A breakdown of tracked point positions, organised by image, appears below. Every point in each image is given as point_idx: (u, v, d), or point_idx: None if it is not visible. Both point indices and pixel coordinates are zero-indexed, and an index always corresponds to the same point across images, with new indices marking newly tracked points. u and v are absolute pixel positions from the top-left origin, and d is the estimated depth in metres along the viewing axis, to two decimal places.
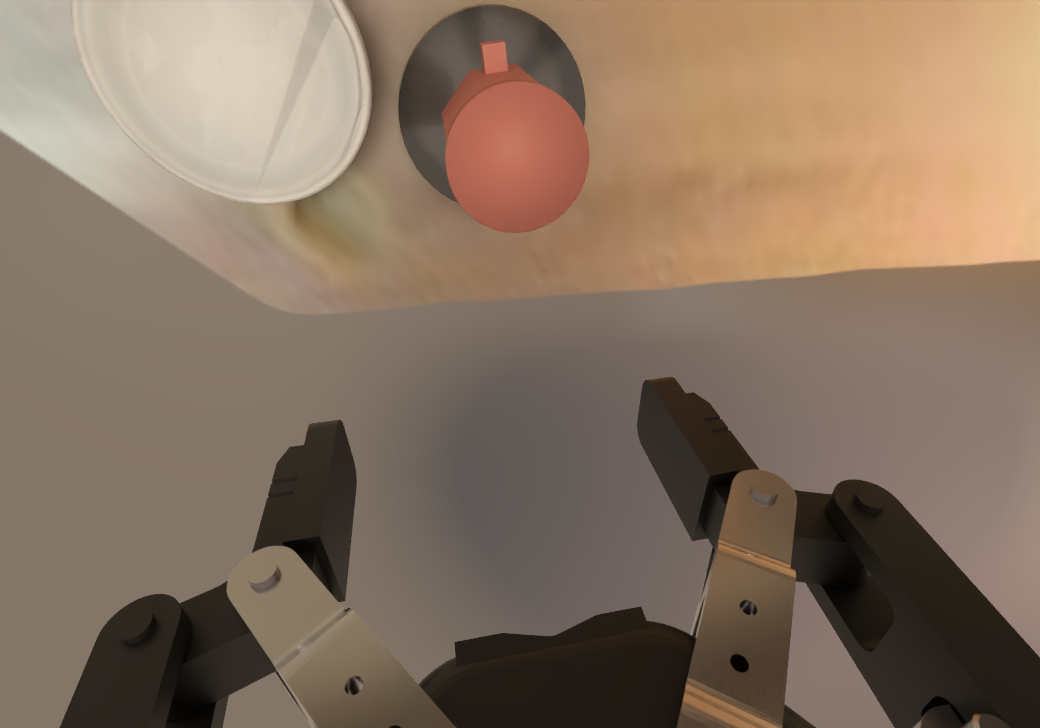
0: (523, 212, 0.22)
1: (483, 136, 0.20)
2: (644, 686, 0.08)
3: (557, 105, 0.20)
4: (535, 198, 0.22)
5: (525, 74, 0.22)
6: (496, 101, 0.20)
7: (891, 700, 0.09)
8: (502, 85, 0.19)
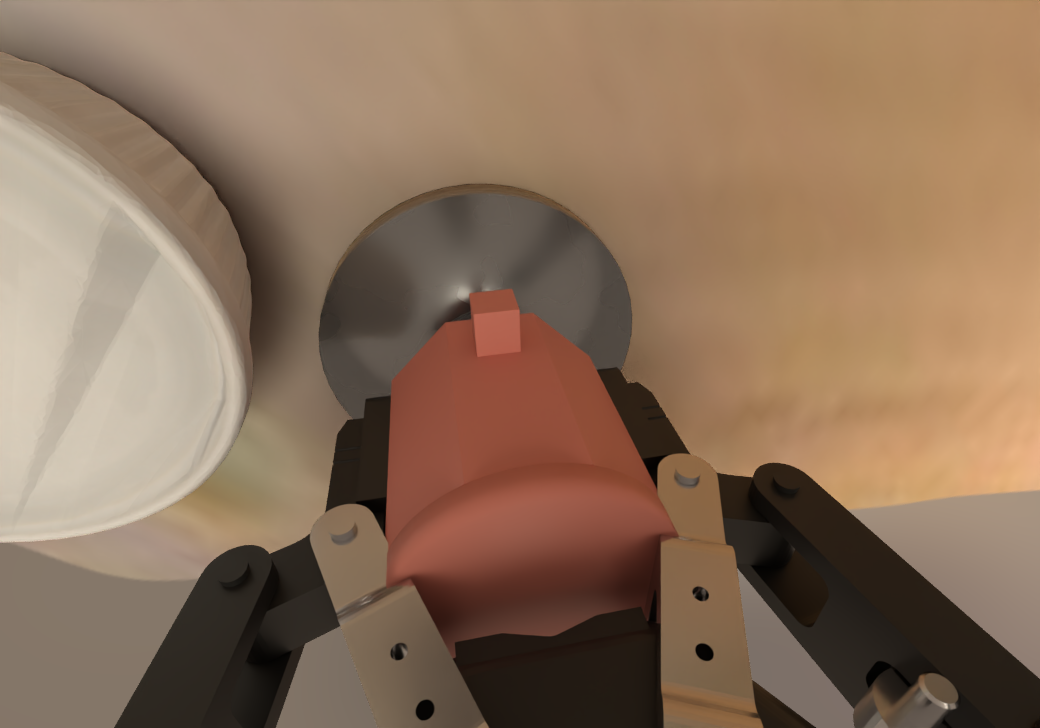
0: None
1: (466, 578, 0.09)
2: (644, 686, 0.08)
3: (639, 524, 0.09)
4: None
5: (559, 393, 0.11)
6: (503, 530, 0.08)
7: (836, 670, 0.10)
8: (520, 504, 0.08)
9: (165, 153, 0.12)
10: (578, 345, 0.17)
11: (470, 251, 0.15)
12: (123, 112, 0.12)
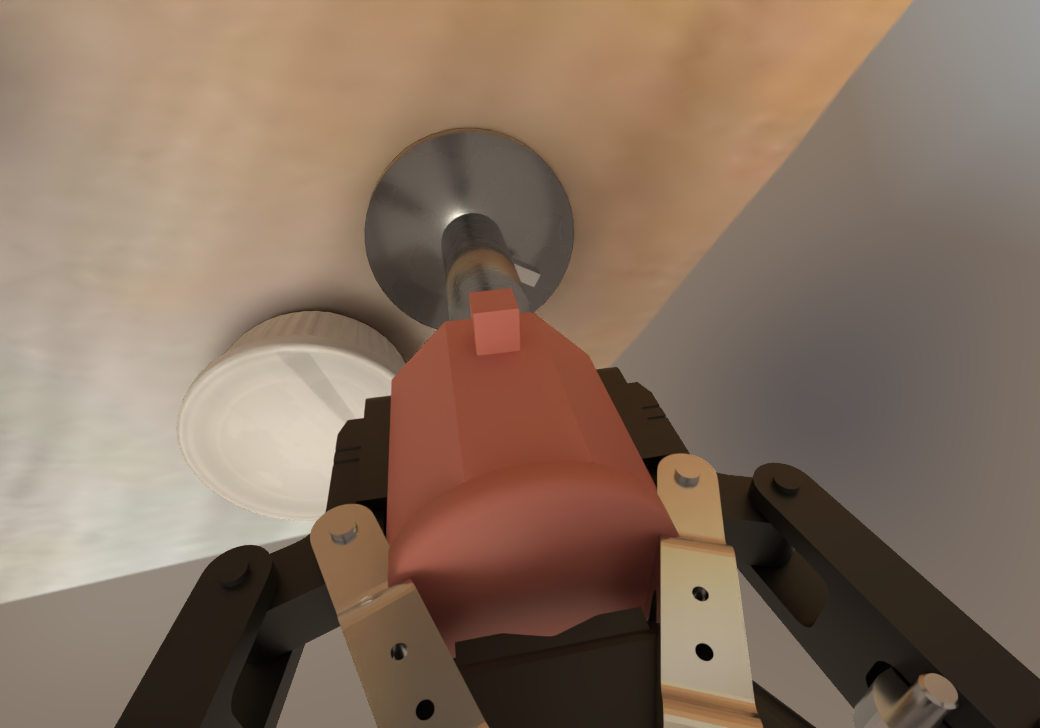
0: None
1: (467, 576, 0.09)
2: (644, 686, 0.08)
3: (639, 520, 0.09)
4: None
5: (559, 392, 0.11)
6: (503, 527, 0.08)
7: (836, 670, 0.10)
8: (520, 501, 0.08)
9: (288, 319, 0.25)
10: (506, 185, 0.24)
11: (403, 218, 0.24)
12: (269, 320, 0.26)
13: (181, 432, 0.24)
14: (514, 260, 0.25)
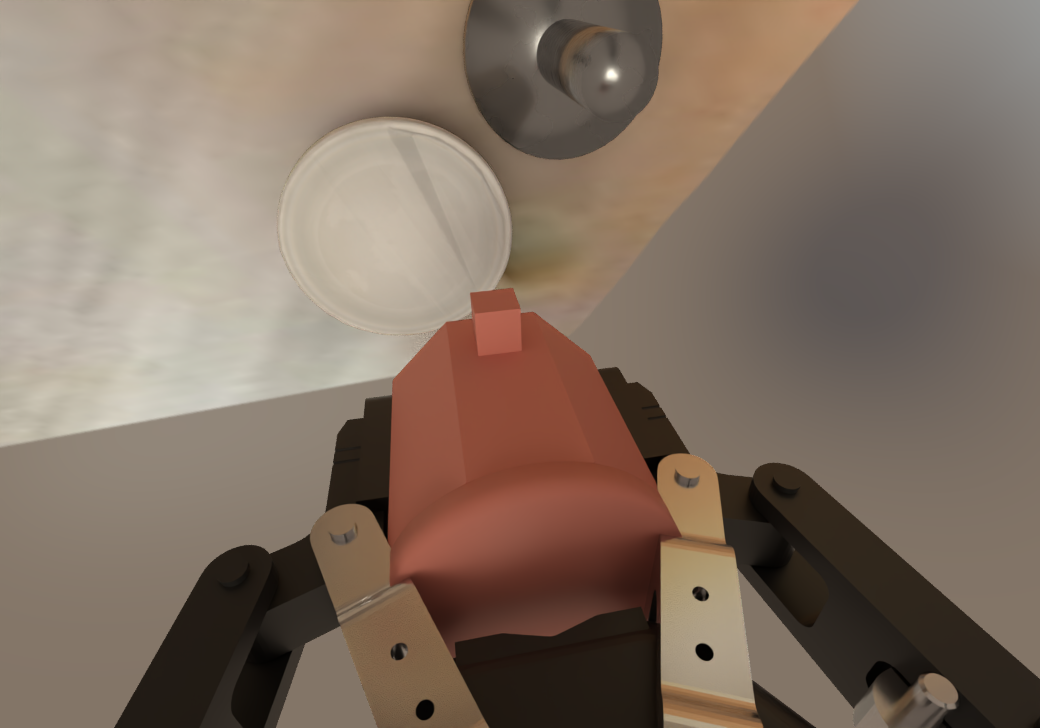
0: None
1: (469, 577, 0.09)
2: (644, 686, 0.08)
3: (641, 521, 0.09)
4: None
5: (561, 392, 0.11)
6: (506, 528, 0.08)
7: (836, 670, 0.10)
8: (523, 502, 0.08)
9: None
10: None
11: (505, 16, 0.25)
12: None
13: (282, 213, 0.24)
14: None
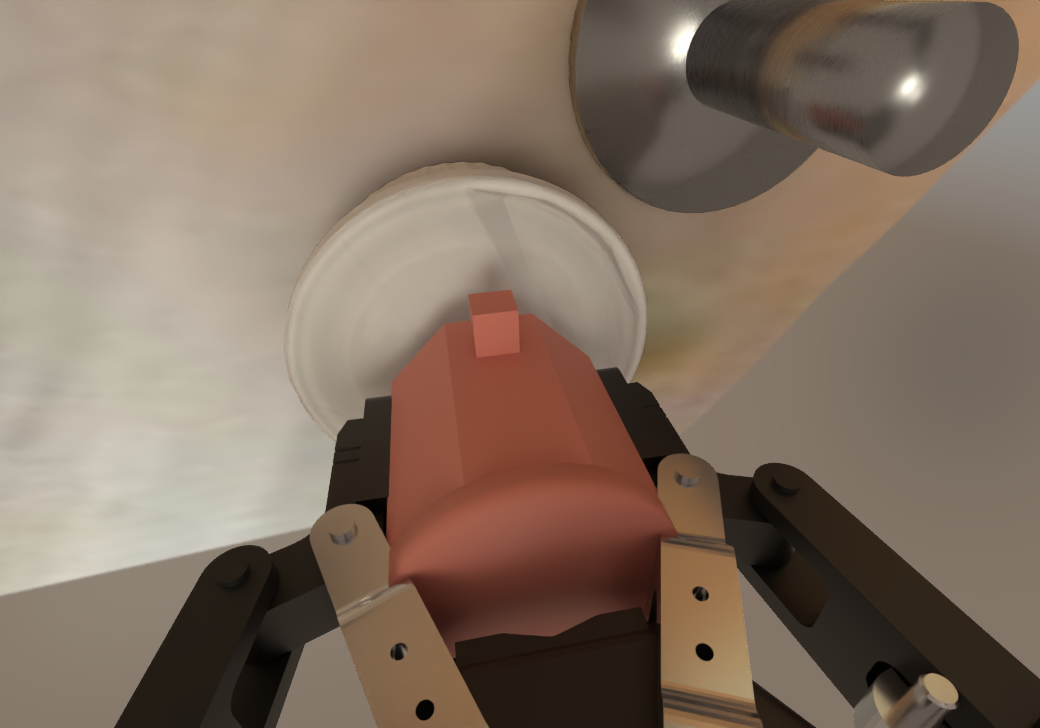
0: None
1: (467, 579, 0.09)
2: (644, 686, 0.08)
3: (639, 524, 0.09)
4: None
5: (559, 394, 0.11)
6: (503, 530, 0.08)
7: (836, 670, 0.10)
8: (520, 505, 0.08)
9: (448, 165, 0.16)
10: None
11: None
12: (415, 171, 0.17)
13: (293, 330, 0.15)
14: None
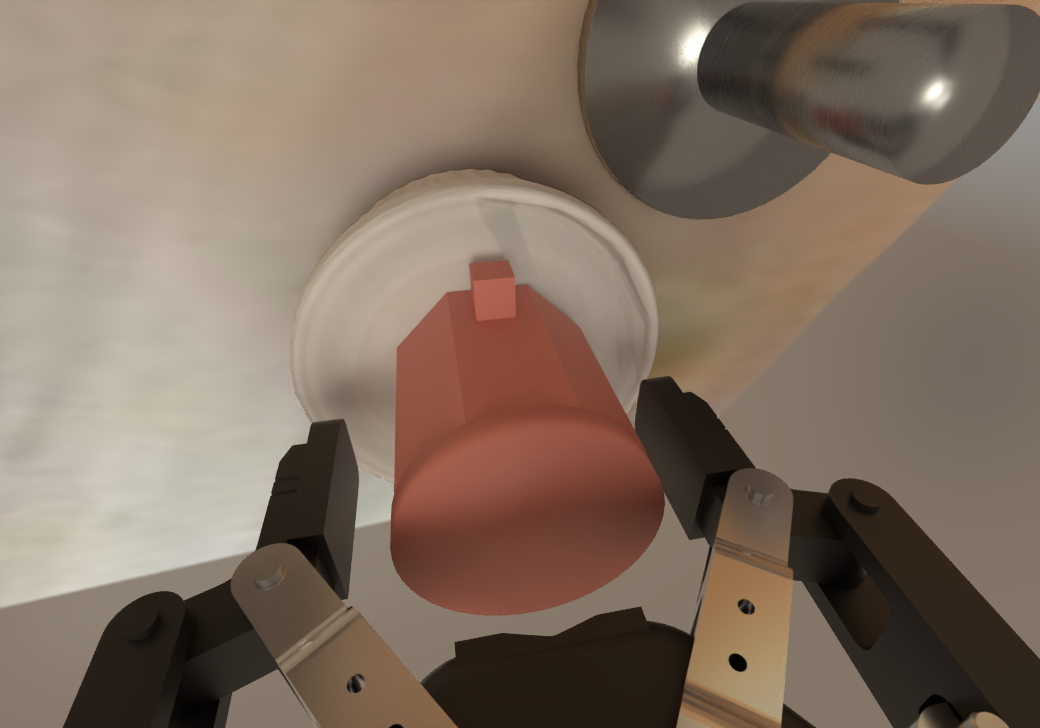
0: (532, 591, 0.12)
1: (468, 507, 0.10)
2: (644, 686, 0.08)
3: (620, 459, 0.10)
4: (558, 573, 0.12)
5: (551, 351, 0.12)
6: (500, 460, 0.10)
7: (889, 698, 0.09)
8: (515, 436, 0.09)
9: (456, 173, 0.16)
10: None
11: (656, 2, 0.15)
12: (421, 179, 0.16)
13: (298, 342, 0.14)
14: None
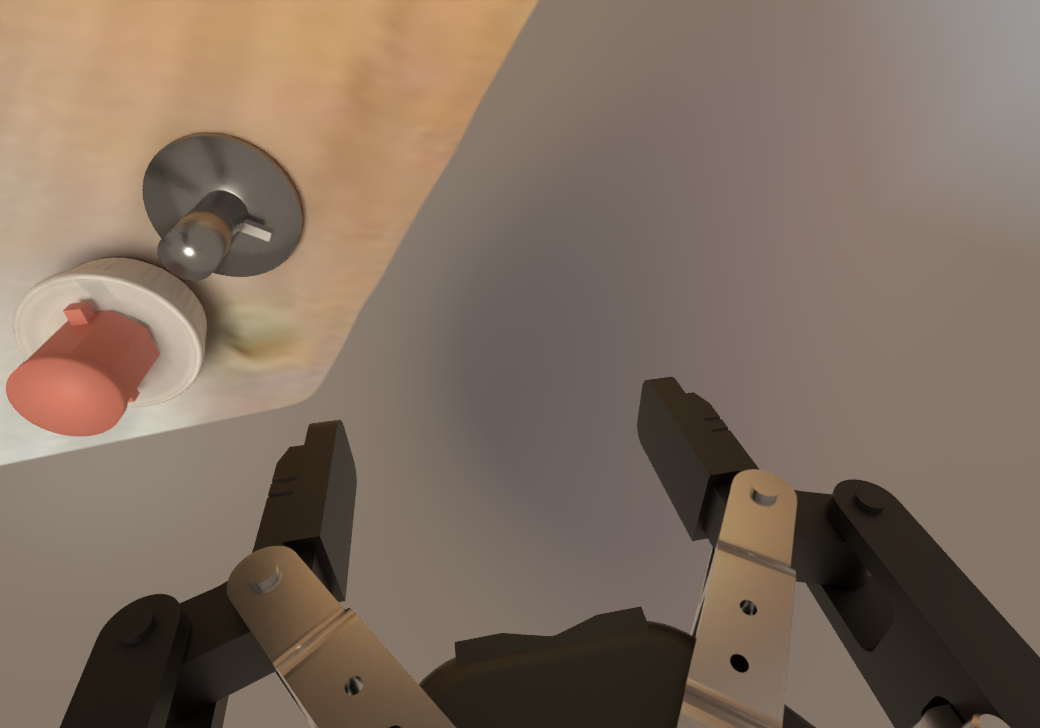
0: (83, 425, 0.33)
1: (31, 387, 0.31)
2: (644, 686, 0.08)
3: (80, 370, 0.31)
4: (89, 417, 0.33)
5: (84, 336, 0.33)
6: (33, 370, 0.30)
7: (891, 700, 0.09)
8: (34, 362, 0.30)
9: (97, 261, 0.37)
10: (239, 171, 0.36)
11: (169, 192, 0.36)
12: (86, 263, 0.37)
13: (16, 334, 0.35)
14: (252, 223, 0.37)
